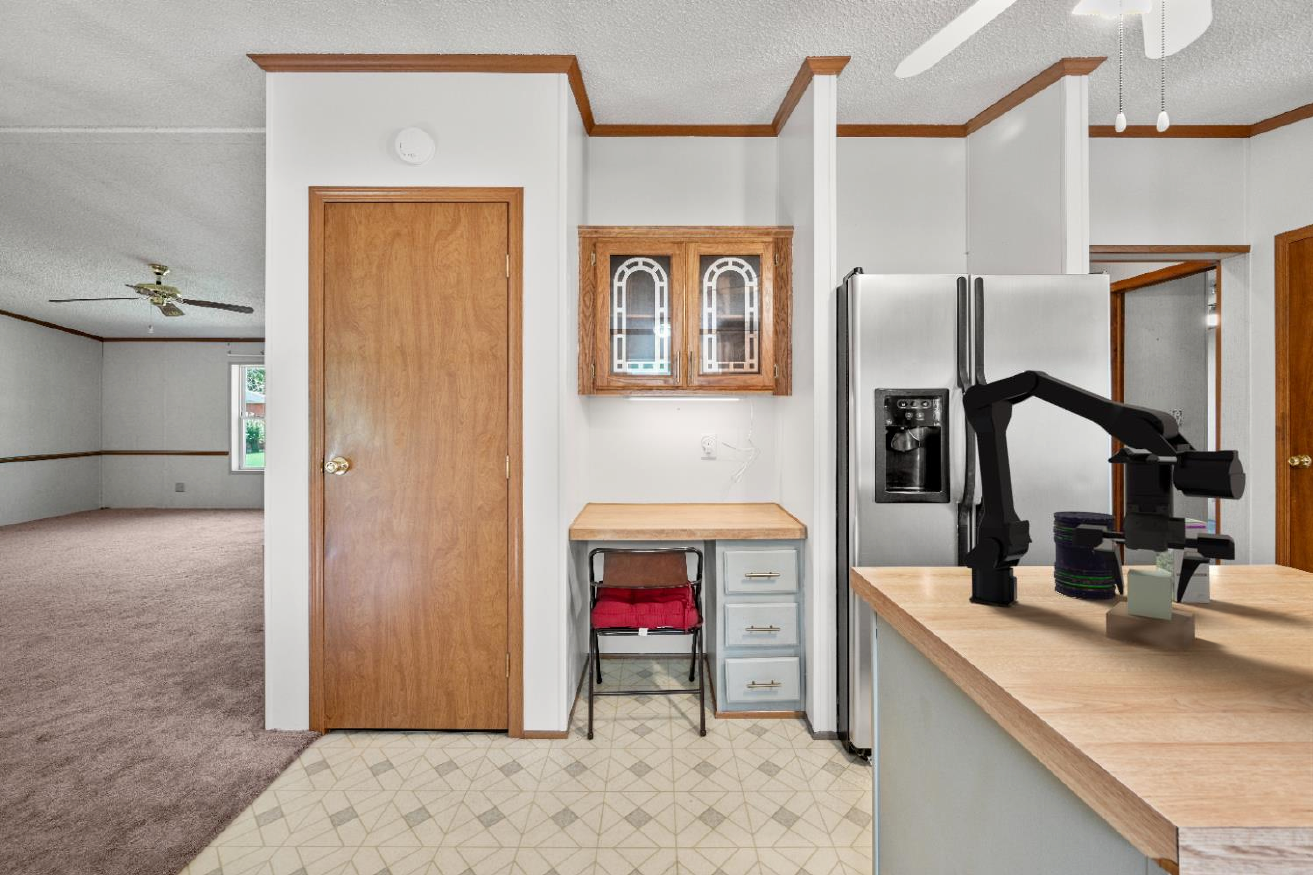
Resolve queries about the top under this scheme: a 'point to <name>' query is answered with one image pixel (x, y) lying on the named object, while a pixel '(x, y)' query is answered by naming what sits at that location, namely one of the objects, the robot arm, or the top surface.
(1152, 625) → the block
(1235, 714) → the top surface
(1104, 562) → the storage jar
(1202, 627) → the top surface
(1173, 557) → the syrup box
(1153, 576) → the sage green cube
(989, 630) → the top surface
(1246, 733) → the top surface
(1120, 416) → the robot arm
